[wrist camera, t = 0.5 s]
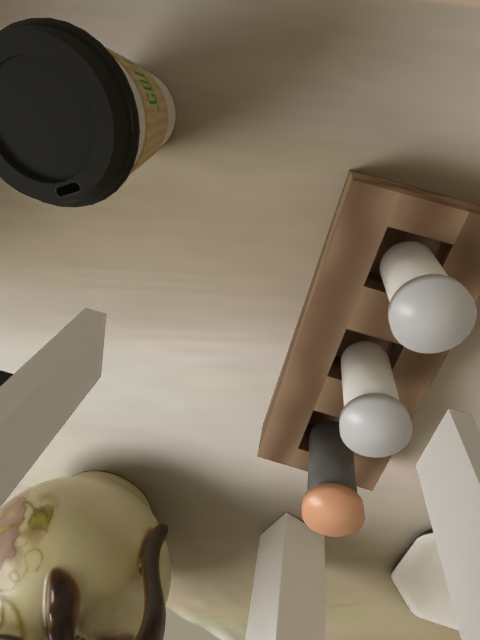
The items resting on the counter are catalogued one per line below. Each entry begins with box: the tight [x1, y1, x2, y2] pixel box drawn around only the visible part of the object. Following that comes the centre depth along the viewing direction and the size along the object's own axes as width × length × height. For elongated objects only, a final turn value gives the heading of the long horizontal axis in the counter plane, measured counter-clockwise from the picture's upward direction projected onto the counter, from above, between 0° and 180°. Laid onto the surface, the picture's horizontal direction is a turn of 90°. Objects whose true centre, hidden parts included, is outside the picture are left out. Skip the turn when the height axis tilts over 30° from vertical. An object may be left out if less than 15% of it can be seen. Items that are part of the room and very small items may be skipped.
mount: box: [258, 170, 480, 491], centre depth 41 cm, size 12×28×5 cm, turn 167°
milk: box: [245, 513, 325, 640], centre depth 47 cm, size 6×6×22 cm
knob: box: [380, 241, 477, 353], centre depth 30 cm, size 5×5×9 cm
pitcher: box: [0, 471, 171, 640], centre depth 49 cm, size 22×24×25 cm
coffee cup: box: [0, 18, 176, 207], centre depth 30 cm, size 10×10×15 cm
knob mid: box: [339, 341, 413, 458], centre depth 34 cm, size 5×5×9 cm
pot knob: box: [302, 421, 365, 537], centre depth 39 cm, size 5×5×9 cm
